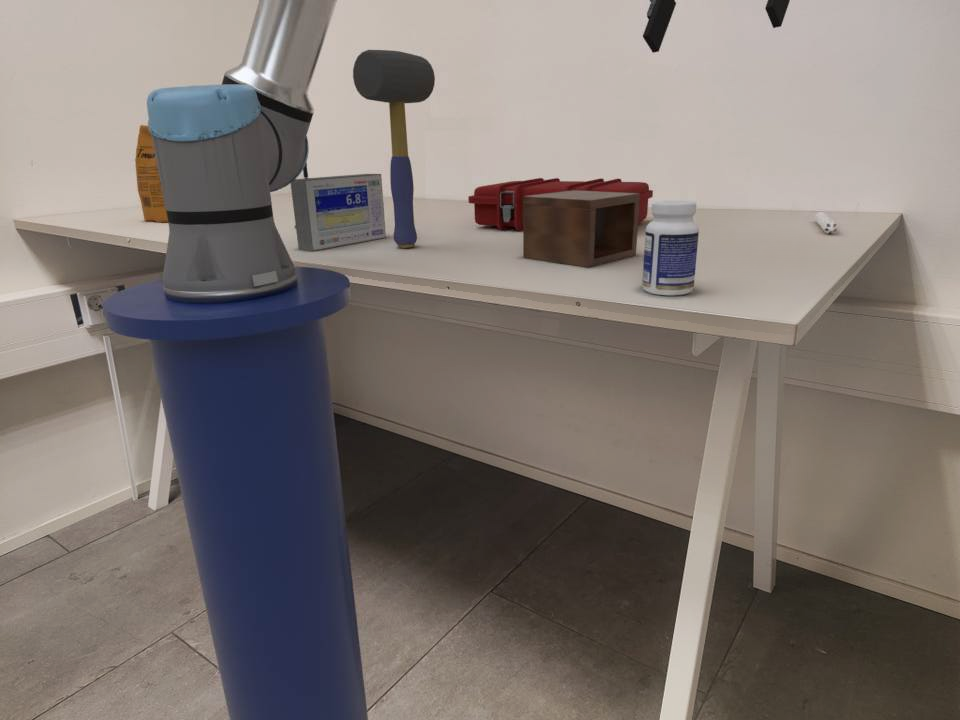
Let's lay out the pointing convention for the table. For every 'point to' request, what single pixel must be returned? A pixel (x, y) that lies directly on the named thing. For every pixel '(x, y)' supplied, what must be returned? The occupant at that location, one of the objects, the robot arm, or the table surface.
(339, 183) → the electronic device
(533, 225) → the shelf
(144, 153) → the coffee package
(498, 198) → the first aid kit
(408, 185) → the rubber mallet
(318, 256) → the table surface
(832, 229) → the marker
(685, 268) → the pill bottle
